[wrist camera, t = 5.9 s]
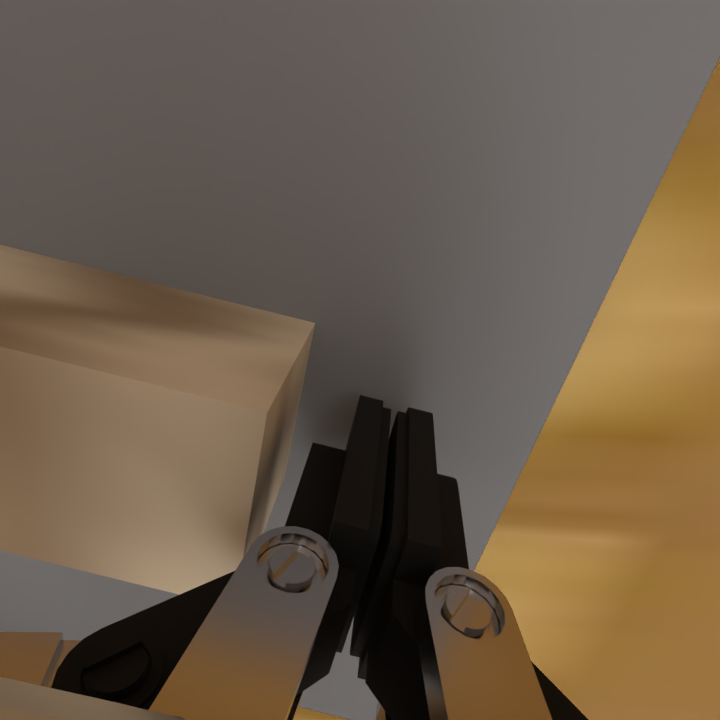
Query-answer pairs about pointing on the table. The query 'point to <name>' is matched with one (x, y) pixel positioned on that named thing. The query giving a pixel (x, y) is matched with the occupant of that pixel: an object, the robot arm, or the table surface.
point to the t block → (139, 422)
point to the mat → (351, 207)
